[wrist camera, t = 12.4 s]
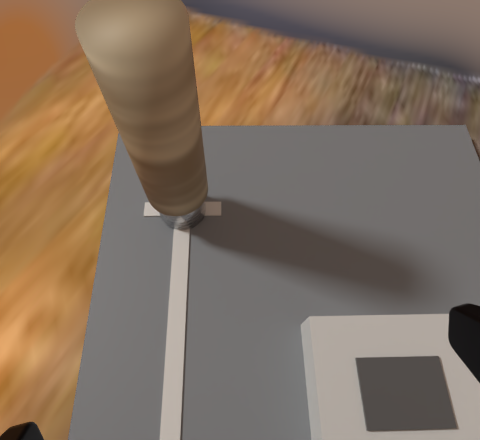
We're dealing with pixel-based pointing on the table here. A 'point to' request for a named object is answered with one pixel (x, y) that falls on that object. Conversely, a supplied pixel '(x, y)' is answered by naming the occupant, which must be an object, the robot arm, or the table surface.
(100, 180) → the table surface
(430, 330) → the white flat block
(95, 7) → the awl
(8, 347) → the table surface
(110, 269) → the floor panel
